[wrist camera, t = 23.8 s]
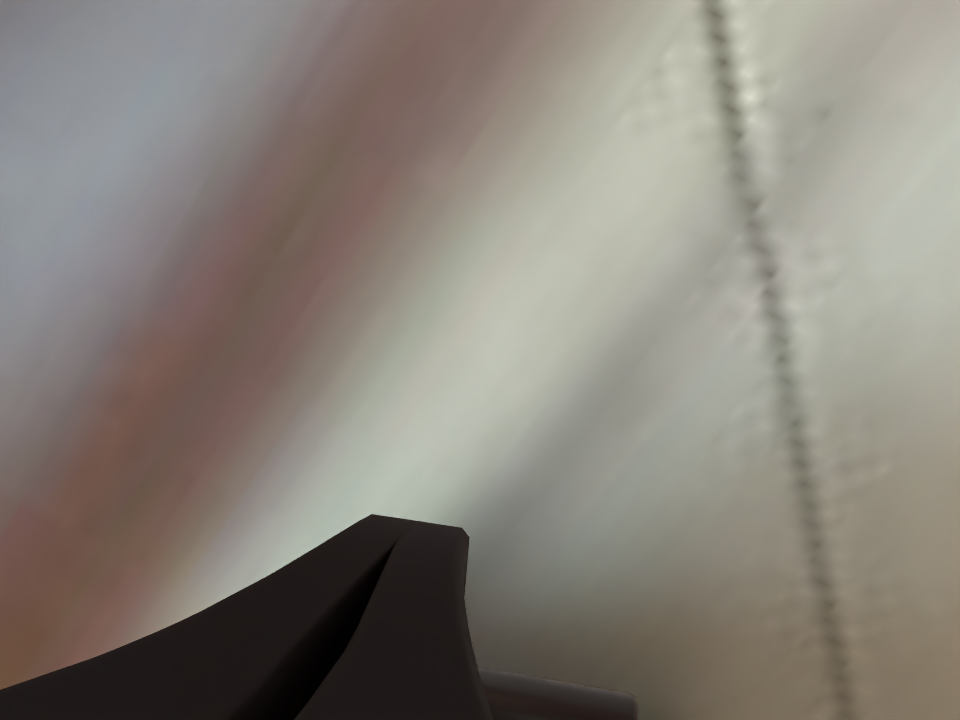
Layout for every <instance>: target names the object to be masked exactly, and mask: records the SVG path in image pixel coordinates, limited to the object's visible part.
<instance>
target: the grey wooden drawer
mask: <svg viewBox="0 0 960 720" xmlns="http://www.w3.org/2000/svg"><path fill="white" fill-rule="evenodd" d="M478 671H479V675H480V678H481V682H482V685H483V689H484V692H485V695H486V699H487V702H488V705H489V708H490V711H491V713H492V716H493V719H494V720H638V709H637V702H636V699H635V696H633V695H632V694H629V693H623V692H618V691H612V690H606V689H600V688H595V687H589V686H583V685H577V684H572V683H566V682H560V681H554V680H548V679H543V678H537V677H531V676H525V675H520V674H514V673H508V672H502V671H497V670H491V669H485V668H479V667H478Z"/></svg>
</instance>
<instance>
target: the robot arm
mask: <svg viewBox="0 0 960 720" xmlns="http://www.w3.org/2000/svg"><path fill="white" fill-rule="evenodd" d="M468 548H469V536H468V535H467V534H466V532H465V531H464V530H463V529H462V528H460V527H453V526H447V525H440V524H433V523H427V522H420V521H413V520H407V519H400V518H393V517H387V516H380V515H373V514H372V515H370V516H368V517H366V518H364V519H362V520H360V521H358V522H357V523H355V524H353V525H352V526H350V527H348V528H347V529H345V530H343V531H342V532H340V533H339V534H337V535H335V536H334V537H332V538H331V539H329V540H327V541H326V542H324V543H322V544H321V545H319V546H318V547H316V548H314V549H313V550H311V551H309V552H307V553H306V554H304V555H302V556H301V557H299V558H297V559H296V560H294V561H292V562H291V563H289V564H287V565H286V566H284V567H282V568H281V569H279V570H277V571H276V572H274V573H272V574H270V575H269V576H267V577H265V578H263V579H261V580H259V581H257V582H256V583H254V584H252V585H250V586H248V587H246V588H244V589H242V590H240V591H239V592H237V593H235V594H233V595H231V596H229V597H227V598H225V599H223V600H222V601H220V602H218V603H216V604H214V605H212V606H210V607H208V608H206V609H205V610H203V611H201V612H199V613H197V614H194V615H192V616H190V617H188V618H186V619H184V620H182V621H180V622H178V623H175V624H173V625H171V626H169V627H167V628H164V629H162V630H160V631H158V632H155V633H153V634H151V635H148V636H146V637H143V638H141V639H139V640H136V641H134V642H131V643H129V644H127V645H124V646H122V647H120V648H117V649H115V650H112V651H110V652H107V653H105V654H102V655H99V656H97V657H94V658H92V659H89V660H86V661H83V662H80V663H77V664H74V665H71V666H68V667H66V668H63V669H60V670H57V671H54V672H51V673H48V674H45V675H42V676H39V677H37V678H34V679H31V680H28V681H25V682H22V683H19V684H16V685H13V686H10V687H7V688H5V689H2V690H0V720H494V719H493V716H492V713H491V711H490V708H489V705H488V702H487V699H486V695H485V692H484V689H483V685H482V682H481V678H480V675H479V671H478V667H477V663H476V659H475V655H474V651H473V647H472V643H471V637H470V632H469V627H468V621H467V614H466V607H465V600H464V595H465V583H466V572H467V560H468Z"/></svg>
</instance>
